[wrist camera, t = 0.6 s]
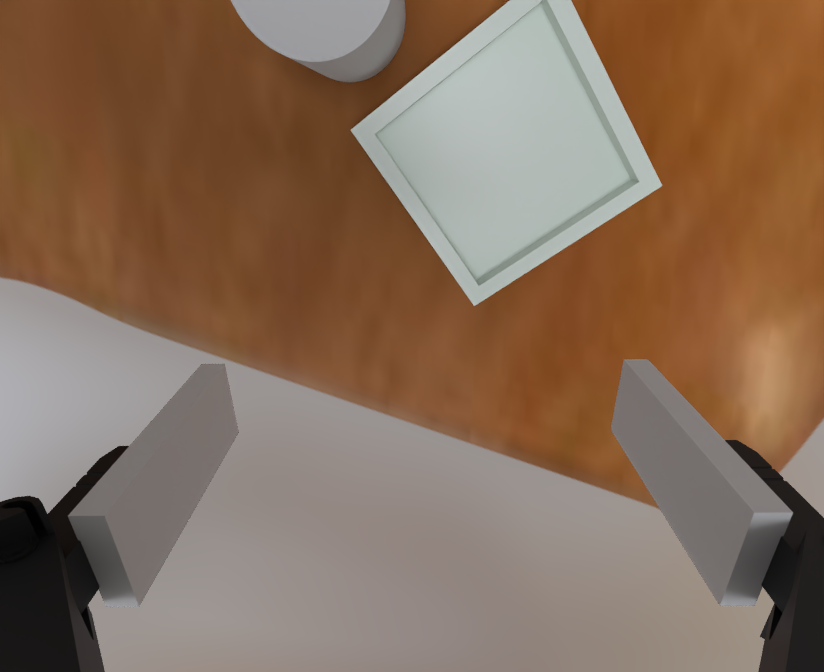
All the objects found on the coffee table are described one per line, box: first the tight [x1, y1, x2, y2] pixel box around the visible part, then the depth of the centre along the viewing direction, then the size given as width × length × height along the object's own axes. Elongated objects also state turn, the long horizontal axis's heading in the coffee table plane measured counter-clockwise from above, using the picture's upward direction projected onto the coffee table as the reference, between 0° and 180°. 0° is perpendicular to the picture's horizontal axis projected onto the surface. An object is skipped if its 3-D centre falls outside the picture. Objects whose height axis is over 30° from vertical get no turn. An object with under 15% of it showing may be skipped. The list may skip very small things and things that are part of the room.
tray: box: [351, 0, 662, 306], centre depth 35 cm, size 16×16×2 cm
